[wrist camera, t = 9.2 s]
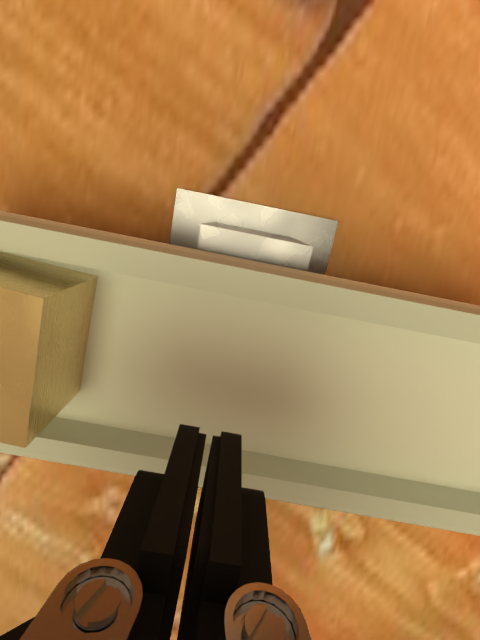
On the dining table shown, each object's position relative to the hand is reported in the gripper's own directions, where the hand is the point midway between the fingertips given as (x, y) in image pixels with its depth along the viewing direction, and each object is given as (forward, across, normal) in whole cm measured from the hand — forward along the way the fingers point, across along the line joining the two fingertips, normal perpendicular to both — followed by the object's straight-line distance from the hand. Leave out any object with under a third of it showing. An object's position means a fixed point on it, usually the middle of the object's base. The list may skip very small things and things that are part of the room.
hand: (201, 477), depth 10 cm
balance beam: (+11, -1, -1) cm, 11 cm away
